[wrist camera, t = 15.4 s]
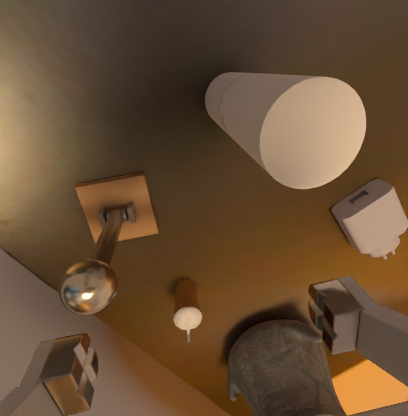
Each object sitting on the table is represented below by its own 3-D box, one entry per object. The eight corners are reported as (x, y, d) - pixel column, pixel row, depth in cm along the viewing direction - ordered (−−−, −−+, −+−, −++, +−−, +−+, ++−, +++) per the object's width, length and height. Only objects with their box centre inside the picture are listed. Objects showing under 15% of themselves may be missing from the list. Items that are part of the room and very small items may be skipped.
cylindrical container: (214, 133, 43) (273, 203, 21) (197, 83, 40) (246, 102, 17) (260, 115, 43) (370, 167, 20) (247, 64, 40) (361, 58, 17)
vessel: (260, 389, 70) (294, 498, 53) (202, 345, 61) (219, 459, 44) (337, 340, 67) (402, 440, 49) (287, 285, 58) (344, 383, 40)
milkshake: (172, 299, 55) (174, 343, 46) (171, 276, 53) (173, 318, 44) (196, 297, 56) (203, 341, 47) (196, 274, 53) (204, 315, 44)
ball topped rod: (41, 286, 24) (61, 333, 26) (103, 273, 24) (119, 321, 26) (97, 201, 43) (106, 231, 45) (131, 194, 44) (139, 225, 45)
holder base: (77, 183, 43) (70, 194, 40) (144, 171, 44) (143, 180, 41) (97, 240, 48) (92, 254, 44) (158, 228, 48) (158, 241, 45)
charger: (359, 262, 58) (328, 208, 51) (402, 235, 56) (375, 177, 50) (375, 277, 53) (344, 221, 47) (422, 249, 52) (396, 187, 46)
